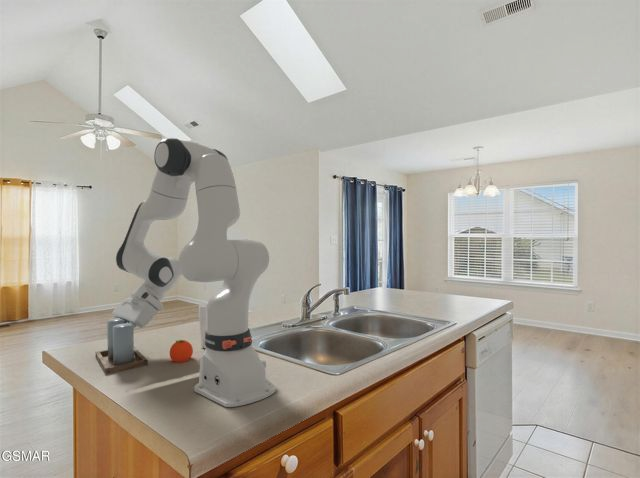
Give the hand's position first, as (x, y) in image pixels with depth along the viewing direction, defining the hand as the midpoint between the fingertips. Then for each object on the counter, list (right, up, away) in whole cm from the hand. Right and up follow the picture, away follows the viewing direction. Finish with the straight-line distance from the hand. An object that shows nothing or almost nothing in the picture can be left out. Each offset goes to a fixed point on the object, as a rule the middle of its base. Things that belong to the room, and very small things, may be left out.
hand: (115, 333), depth 116 cm
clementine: (+22, -9, -2) cm, 24 cm away
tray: (+3, -9, -3) cm, 10 cm away
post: (+1, -8, +1) cm, 8 cm away
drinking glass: (+26, -9, +13) cm, 31 cm away
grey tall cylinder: (+7, -8, -7) cm, 12 cm away
